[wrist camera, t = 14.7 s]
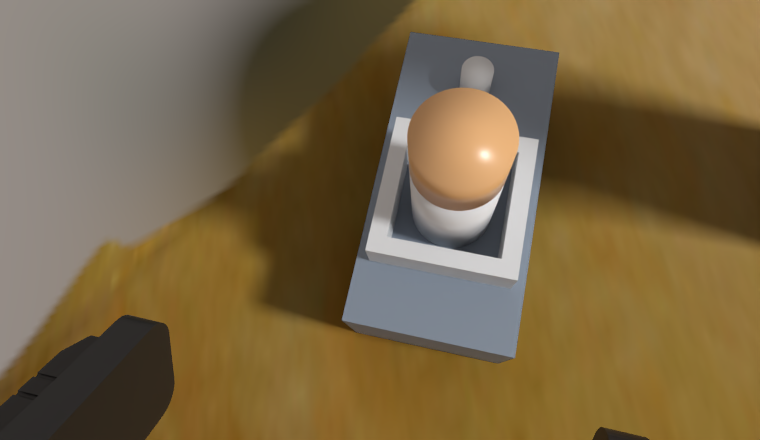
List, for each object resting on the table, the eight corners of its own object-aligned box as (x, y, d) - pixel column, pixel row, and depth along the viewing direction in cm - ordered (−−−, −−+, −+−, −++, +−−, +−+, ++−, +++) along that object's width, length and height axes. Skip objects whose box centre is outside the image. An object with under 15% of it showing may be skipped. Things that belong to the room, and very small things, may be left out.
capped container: (497, 180, 33) (526, 96, 23) (484, 255, 32) (510, 197, 22) (420, 167, 34) (419, 80, 24) (404, 239, 32) (396, 177, 23)
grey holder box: (537, 105, 42) (569, 28, 33) (498, 363, 36) (522, 355, 27) (412, 86, 43) (409, 7, 34) (355, 332, 38) (334, 314, 29)
